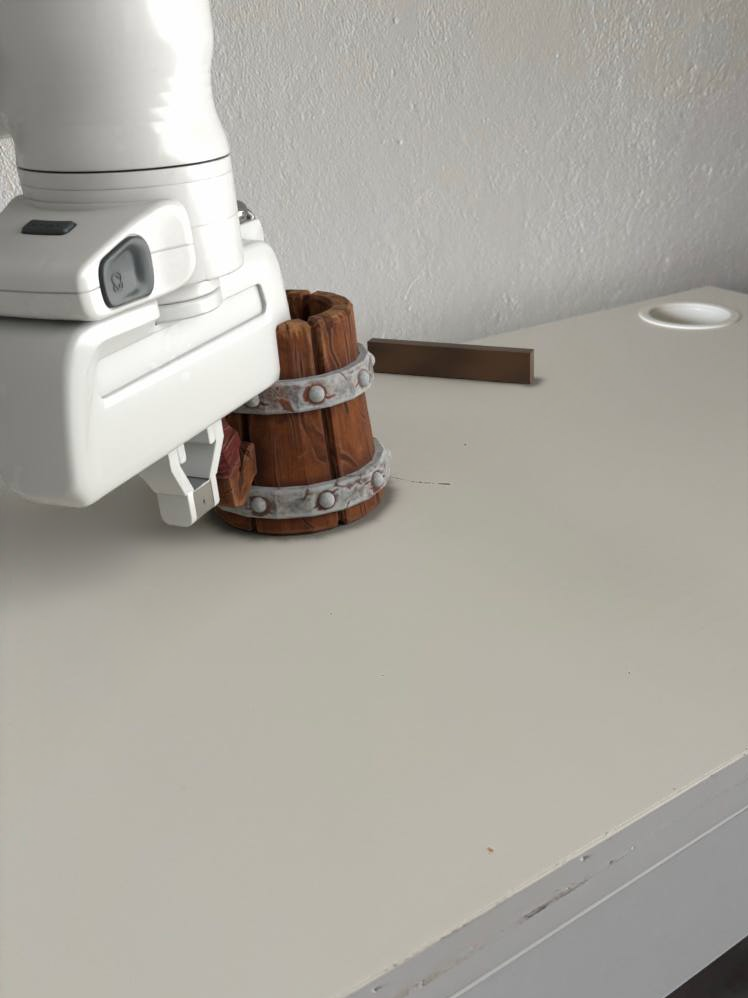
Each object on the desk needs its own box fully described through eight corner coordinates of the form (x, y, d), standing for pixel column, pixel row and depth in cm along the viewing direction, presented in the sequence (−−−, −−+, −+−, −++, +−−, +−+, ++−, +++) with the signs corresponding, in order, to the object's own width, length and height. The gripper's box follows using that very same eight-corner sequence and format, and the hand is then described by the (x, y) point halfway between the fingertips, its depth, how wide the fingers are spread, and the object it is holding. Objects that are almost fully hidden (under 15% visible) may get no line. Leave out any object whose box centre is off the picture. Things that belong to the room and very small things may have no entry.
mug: (432, 467, 68) (400, 237, 58) (329, 598, 58) (270, 349, 48) (279, 445, 71) (225, 226, 62) (159, 565, 62) (72, 328, 52)
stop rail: (369, 371, 86) (366, 341, 85) (374, 367, 87) (372, 337, 86) (530, 384, 83) (530, 353, 81) (534, 379, 84) (534, 348, 82)
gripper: (200, 191, 55) (238, 438, 62) (-89, 278, 38) (9, 600, 46) (307, 194, 53) (333, 448, 60) (52, 287, 37) (131, 620, 44)
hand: (192, 515), depth 53 cm, fingers closed
